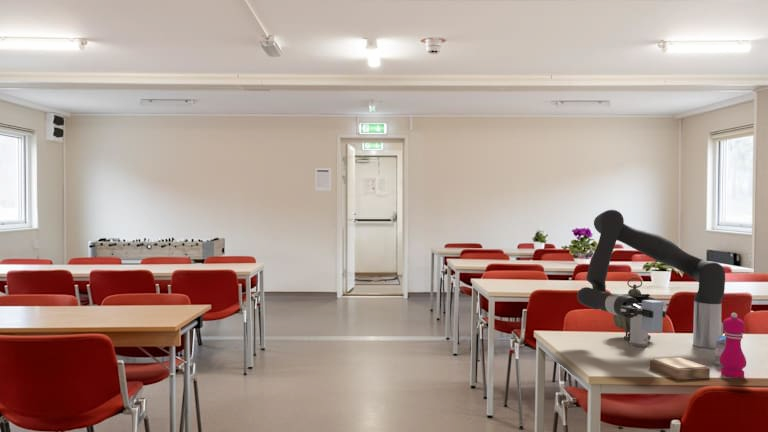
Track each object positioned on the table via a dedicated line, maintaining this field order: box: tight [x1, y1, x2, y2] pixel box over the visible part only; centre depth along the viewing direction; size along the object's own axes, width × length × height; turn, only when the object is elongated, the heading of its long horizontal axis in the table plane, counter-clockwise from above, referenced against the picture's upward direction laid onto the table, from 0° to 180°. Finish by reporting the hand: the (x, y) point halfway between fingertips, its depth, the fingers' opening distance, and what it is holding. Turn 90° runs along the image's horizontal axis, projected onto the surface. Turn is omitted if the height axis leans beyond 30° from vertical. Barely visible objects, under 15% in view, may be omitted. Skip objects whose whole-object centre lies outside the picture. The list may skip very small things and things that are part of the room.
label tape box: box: [714, 336, 726, 367], centre depth 189 cm, size 9×4×12 cm, turn 141°
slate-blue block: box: [641, 299, 664, 334], centre depth 183 cm, size 4×4×10 cm
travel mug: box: [629, 293, 651, 348], centre depth 213 cm, size 6×7×20 cm
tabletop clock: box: [612, 277, 656, 341], centre depth 225 cm, size 14×9×25 cm, turn 104°
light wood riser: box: [649, 356, 711, 381], centre depth 176 cm, size 12×12×3 cm
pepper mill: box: [720, 312, 747, 379], centre depth 175 cm, size 7×7×20 cm
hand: (658, 314), depth 180 cm, fingers closed on slate-blue block, 4 cm apart
